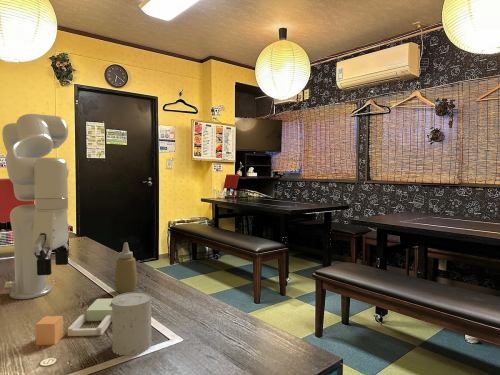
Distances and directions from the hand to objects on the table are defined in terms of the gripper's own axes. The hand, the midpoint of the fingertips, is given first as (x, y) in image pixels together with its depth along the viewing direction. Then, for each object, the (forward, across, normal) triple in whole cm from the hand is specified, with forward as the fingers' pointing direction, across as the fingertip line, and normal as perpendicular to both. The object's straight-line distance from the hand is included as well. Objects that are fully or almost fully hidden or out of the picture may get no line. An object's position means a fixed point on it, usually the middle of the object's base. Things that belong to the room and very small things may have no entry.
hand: (53, 269), depth 91 cm
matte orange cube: (+18, +2, -1) cm, 18 cm away
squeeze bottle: (+18, -33, +10) cm, 39 cm away
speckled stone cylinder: (+19, +6, +21) cm, 29 cm away
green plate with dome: (+18, -9, +11) cm, 23 cm away
